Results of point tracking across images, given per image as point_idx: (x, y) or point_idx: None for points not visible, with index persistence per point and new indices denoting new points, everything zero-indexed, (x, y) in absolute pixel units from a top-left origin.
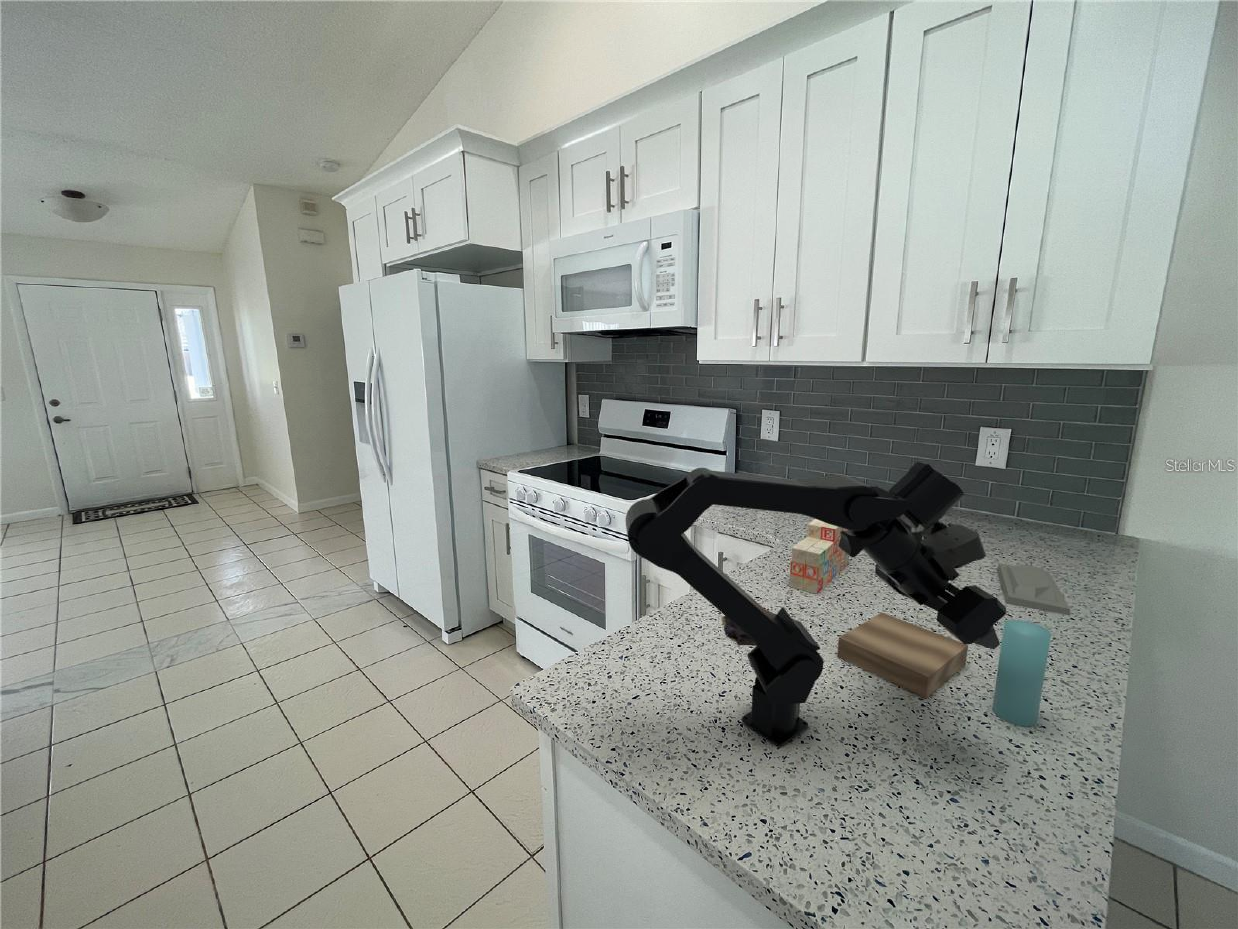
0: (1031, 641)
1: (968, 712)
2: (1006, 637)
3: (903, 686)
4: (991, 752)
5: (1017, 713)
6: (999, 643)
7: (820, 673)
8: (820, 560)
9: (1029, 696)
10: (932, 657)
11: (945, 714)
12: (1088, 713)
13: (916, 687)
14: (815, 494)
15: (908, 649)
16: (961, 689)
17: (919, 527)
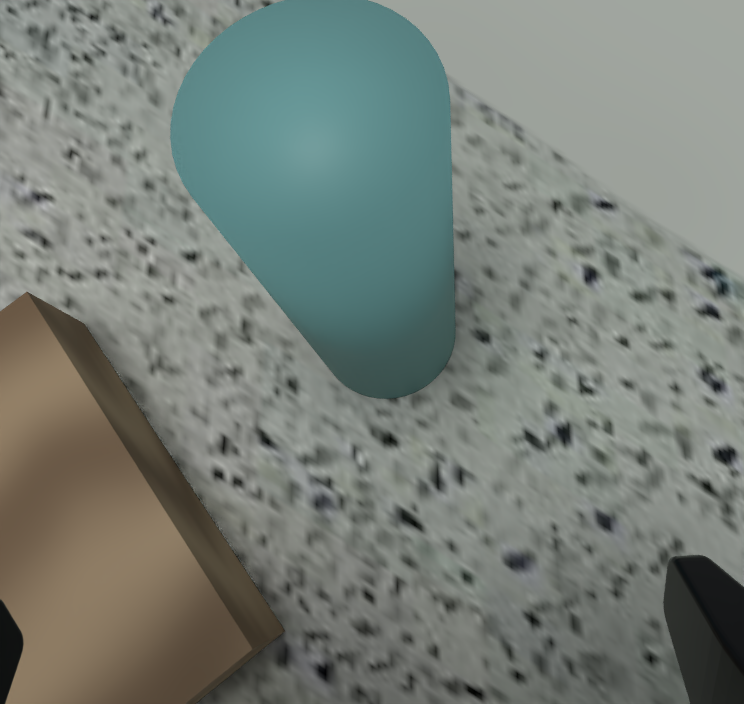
0: (440, 171)
1: (374, 498)
2: (314, 273)
3: (203, 696)
4: (608, 558)
5: (444, 351)
6: (715, 566)
7: None
8: None
9: (453, 293)
10: (96, 522)
11: (386, 605)
12: None
13: (240, 665)
14: None
15: (14, 608)
16: (232, 436)
17: None
